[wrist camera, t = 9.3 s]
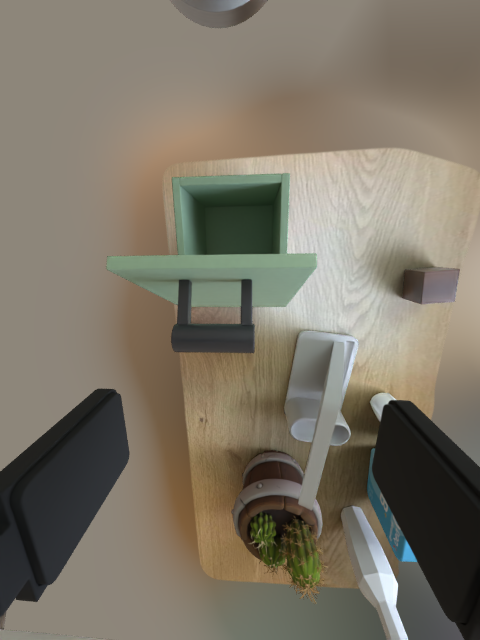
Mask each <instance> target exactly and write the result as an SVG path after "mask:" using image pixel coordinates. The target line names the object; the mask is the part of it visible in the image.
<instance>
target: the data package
mask: <svg viewBox="0 0 480 640" xmlns="http://www.w3.org/2000/svg"><path fill="white" fill-rule="evenodd" d="M374 453H375V448H373V449H372V450H371V457H370V466H369V475H368V484H367V492H368V496H369V499H370V502H371V504H372V506H373V508H374V510H375V512H376V515H377V517H378V519H379V521H380V523H381V525H382V528H383V530H384V532H385V534H386V536H387V539H388V541H389V543H390V545H391V547H392V549H393V552H394V554H395V556H396V557H397V559H398V560H399V561H406V562H417V560H416V558H415V556H414V554H413V552H412V550H411V548H410V546H409V544H408V542H407V541H406V539H405V537H404V535H403V533H402V531H401V529H400V527H399V525H398V523H397V521H396V519H395V518H394V516H393V514H392V512H391V510H390V508H389V506H388V504H387V502H386V500H385V498H384V496H383V495H382V493H381V491H380V489H379V487H378V485H377V483H376V481H375V479H374V477H373V473H372V463H373V458H374Z"/></svg>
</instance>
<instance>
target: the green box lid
mask: <svg viewBox="0 0 480 640" xmlns="http://www.w3.org/2000/svg"><path fill="white" fill-rule="evenodd" d="M316 268H317V254H316V253H312V254H237V255H166V256H165V255H162V256H107V266H106V269H107V270H109V271H111V272H113V273H115V274H117V275H119V276H120V277H122V278H125V279H126V280H128V281H130V282H132V283H134V284H136V285H138V286H140V287H142V288H144V289H146V290H148V291H150V292H152V293H154V294H156V295H158V296H160V297H162V298H164V299H166V300H168V301H170V302H172V303H174V304H176V305H178V315H177V324H175V325H174V327H173V330H172V336H171V343H172V348H173V350H174V351H175V352H207V353H254V346H255V325H254V324H252V307H286V306H287V304H288V303H289V302H290V300H291V299H292V298H293V297H294V295H295V294H296V293H297V292H298V290H299V289H300V288H301V287H302V285H303V284H304V283H305V282H306V280H307V279H308V278H309V277H310V275H311V274H312V273H313V272H314V270H315V269H316ZM191 307H241V324H191Z"/></svg>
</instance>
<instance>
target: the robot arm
mask: <svg viewBox="0 0 480 640" xmlns="http://www.w3.org/2000/svg"><path fill="white" fill-rule="evenodd" d="M128 459H129V447H128V440H127V434H126V427H125V420H124V414H123V407H122V401H121V396H120V394H118V393H117V392H116V390H114V389H97V390H95V391H94V392H93V393H92V394H90V395H89V396H88V397H87V398H86V399H84V401H82V402H81V403H80V404H79V405H78V406H76V407H75V408H74V409H73V410H72V411H71V412H69V413H68V414H67V415H66V416H65V417H63V419H61V420H60V421H59V422H58V423H56V424H55V425H54V426H53V427H52V428H51V429H49V430H48V431H47V432H46V433H45V434H44V435H42V436H41V437H40V438H39V439H38V440H37V441H35V442H34V443H33V444H32V445H31V446H30V447H28V448H27V449H26V450H25V451H24V452H23V453H21V454H20V455H19V456H18V457H17V458H16V459H14V461H12V462H11V463H10V464H9V465H8V466H6V467H5V468H4V469H3V470H2V471H0V640H110V639H99V638H89V637H79V636H67V635H58V634H47V633H38V632H27V631H15V630H4V624H5V617H6V611H7V609H8V608H9V606H10V605H11V603H12V602H13V601H14V599H15V598H16V600H23V601H33V602H37V601H38V600H39V598H40V597H41V595H42V593H43V592H44V590H45V589H46V587H47V585H50V584H52V583H53V582H54V581H55V580H56V579H57V577H58V576H59V574H60V573H61V571H62V569H63V568H64V566H65V564H66V563H67V561H68V559H69V558H70V556H71V555H72V553H73V551H74V549H75V548H76V546H77V545H78V543H79V541H80V540H81V538H82V536H83V535H84V533H85V532H86V530H87V528H88V527H89V525H90V523H91V522H92V520H93V519H94V517H95V515H96V514H97V512H98V510H99V509H100V507H101V505H102V504H103V502H104V501H105V499H106V497H107V495H108V494H109V492H110V491H111V489H112V487H113V486H114V484H115V482H116V481H117V479H118V477H119V476H120V474H121V472H122V471H123V469H124V468H125V466H126V464H127V462H128ZM372 473H373V477H374V479H375V481H376V483H377V485H378V487H379V489H380V491H381V493H382V495H383V496H384V498H385V500H386V502H387V504H388V506H389V508H390V510H391V512H392V514H393V516H394V518H395V519H396V521H397V523H398V525H399V527H400V529H401V531H402V533H403V535H404V537H405V539H406V541H407V542H408V544H409V546H410V548H411V550H412V552H413V554H414V556H415V558H416V560H417V562H418V563H419V565H420V567H421V569H422V571H423V573H424V575H425V577H426V579H427V581H428V583H429V584H430V586H431V588H432V590H433V592H434V594H435V596H436V598H437V600H438V602H439V604H440V606H441V608H442V609H443V611H444V613H445V614H446V616H447V617H448V618H449V619H450V620H451V621H452V622H455V623H456V625H457V627H458V628H459V630H460V632H461V634H462V636H463V638H464V639H465V640H480V467H479V466H478V465H477V464H476V463H475V462H474V461H473V460H472V459H471V458H469V456H467V455H466V454H465V453H464V452H463V451H462V450H461V449H460V448H459V447H458V446H457V445H456V444H455V443H454V442H453V441H452V440H451V439H450V438H449V437H448V436H446V435H445V433H443V432H442V431H441V430H440V429H439V428H438V427H437V426H436V425H435V424H434V423H433V422H432V421H431V420H430V419H429V418H428V417H427V416H426V415H425V414H424V413H423V412H422V411H421V410H420V409H419V408H418V407H416V406H415V405H414V404H413V403H412V402H411V401H403V400H391V401H389V402H388V404H385V405H384V406H383V410H382V416H381V421H380V426H379V431H378V437H377V442H376V447H375V453H374V458H373V463H372Z"/></svg>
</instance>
